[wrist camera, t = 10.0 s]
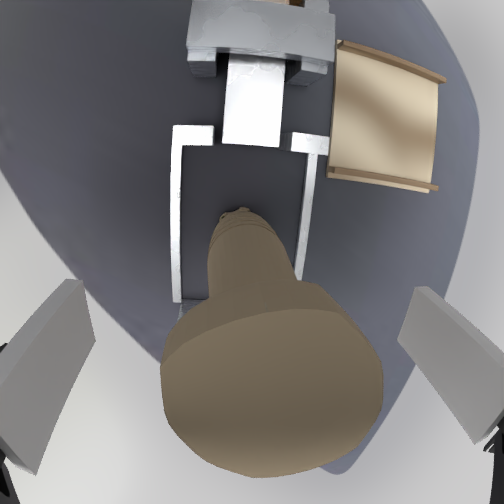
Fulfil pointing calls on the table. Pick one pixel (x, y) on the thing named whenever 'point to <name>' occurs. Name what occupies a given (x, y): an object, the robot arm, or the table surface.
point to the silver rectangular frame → (206, 137)
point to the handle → (267, 363)
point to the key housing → (263, 35)
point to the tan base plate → (382, 119)
